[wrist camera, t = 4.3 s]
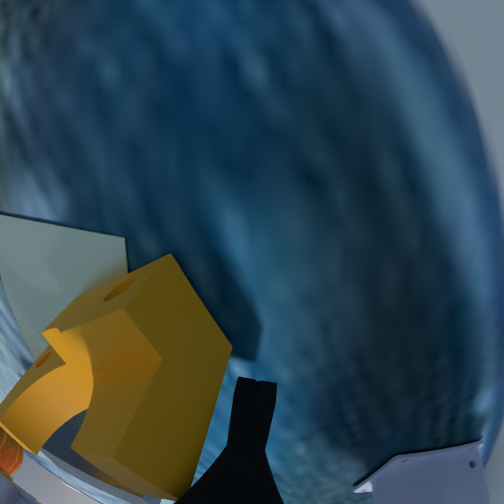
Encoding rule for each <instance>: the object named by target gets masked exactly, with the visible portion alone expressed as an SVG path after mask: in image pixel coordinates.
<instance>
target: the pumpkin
mask: <svg viewBox="0 0 504 504" xmlns="http://www.w3.org/2000/svg"><path fill="white" fill-rule="evenodd" d="M22 461H23V447H22V446H21V445H20V444H19V443H18V442H17V441H15V440H14V439H13V438H12V437H11V436H10V435H9V434H8V433H7V432H6V431H5V430H4V429H3V428H2V427H1V426H0V473H1V474H2V475H3V476H5V477H6V478H7V479H9V480H10V481H12V482H13V478H12V475H13V473H14V472H16V471H17V470H18V469H19V468H20V466H21V464H22Z"/></svg>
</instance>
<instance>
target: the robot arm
mask: <svg viewBox="0 0 504 504" xmlns="http://www.w3.org/2000/svg"><path fill="white" fill-rule="evenodd" d="M276 394H277V383H274V382H267V381H258V382H257V381H256V380H255V379H250V378H244V377H239V376H238V379H237V383H236V387H235V391H234V396H233V403H232V410H231V417H230V424H229V431H228V439H227V445H226V447H225V448H224V450H223V451H222V452H221V454H220V455H219V456H218V458H217V459H216V460H215V461H214V463H213V464H212V465H211V466H210V468H209V469H208V470H207V471H206V472H205V473H204V474H203V476H202V477H201V478H200V479H199V480H198V481H197V482H196V483H195V484H194V485H193V486H192V487H191V488H190V489H189V490H188V491H187V492H186V493H185V494H184V495H183V496H181V497H180V498H179V499H178V500H177V501H176V502H175V503H174V504H284V503H283V500H282V498H281V496H280V494H279V491H278V489H277V486H276V484H275V481H274V478H273V475H272V472H271V469H270V466H269V463H268V459H267V456H266V452H265V448H266V444H267V439H268V435H269V431H270V426H271V422H272V417H273V413H274V408H275V404H276ZM483 444H484V443H483V441H477V442H473V443H469V444H465V445H460V446H456V447H451V448H445V449H440V450H434V451H427V452H420V453H412V454H402V455H397V456H395V457H393V458H392V459H391V460H389V461H388V462H387V463H386V464H385V465H383V466H382V467H381V468H380V469H379V470H377V471H376V472H375V473H373V474H372V475H371V476H370V477H368V478H367V479H366V480H364V481H363V482H362V483H360V484H359V485H358V486H356V487H355V488H354V492H370V491H372V504H490V498H489V492H488V487H487V483H486V479H485V474H484V470H483V466H482V462H481V458H480V455H479V451H478V449H479V448H480V447H482V446H483ZM0 504H41V503H39V502H38V501H37V500H36V499H35V498H34V497H33V496H31V495H30V494H29V493H27V492H26V491H25V490H23V489H22V488H21V487H19V486H18V485H17V484H15V483H14V482H12V481H10V480H9V479H7V478H6V477H5V476H3V475H2V474H1V473H0Z"/></svg>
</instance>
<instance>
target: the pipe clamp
mask: <svg viewBox="0 0 504 504" xmlns="http://www.w3.org/2000/svg"><path fill="white" fill-rule="evenodd" d="M42 334H43V336H44V337H45V338H46V340H47V341H48V342H49V343H50V345H51V346H48V347H47V348H46V349H45V350H44V351H43V353H42V354H41V355H40V356H39V357H38V358H37V360H36V361H35V362H34V363H33V364H32V365H31V367H30V368H29V369H28V370H27V371H26V373H25V374H24V375H23V376H22V377H21V379H20V380H19V381H18V382H17V384H16V385H15V386H14V387H13V389H12V390H11V391H10V392H9V394H8V395H7V396H6V398H5V399H4V400H3V402H2V403H1V404H0V426H1V427H2V428H3V429H4V430H5V431H6V432H7V433H8V434H9V435H10V436H11V437H12V438H13V439H14V440H15V441H17V442H18V443H19V444H20V445H21V446H22V447H23V448H24V449H26V450H28V451H30V452H32V453H34V454H35V455H37V454H38V452H39V450H40V449H41V448H42V446H43V445H44V443H45V442H46V441H47V440H48V438H49V437H50V436H51V435H52V434H53V433H54V432H55V431H56V430H57V429H58V428H59V427H60V426H61V425H63V424H64V423H65V422H66V421H68V420H69V419H70V418H72V417H73V416H75V415H76V414H78V413H80V412H82V411H84V410H86V409H88V410H87V413H86V416H85V418H84V421H83V423H82V425H81V427H80V430H79V432H78V434H77V436H76V438H75V440H74V441H73V443H72V445H71V447H70V448H72V449H73V450H74V451H75V452H77V453H78V454H79V455H80V456H82V457H83V458H84V459H86V460H87V461H88V462H90V463H91V464H93V465H94V466H95V467H97V468H98V469H100V470H101V471H103V472H104V473H106V474H107V475H109V476H110V477H112V478H113V479H115V480H116V481H118V482H119V483H121V484H123V485H124V486H126V487H128V488H129V489H131V490H133V491H134V492H136V493H140V494H144V495H148V496H153V497H157V498H162V499H167V500H173V501H177V500H178V499H179V498H180V497H181V496H183V495H184V494H185V493H186V492H187V491H188V490H189V489H190V488H191V484H192V481H193V478H194V475H195V471H196V468H197V465H198V461H199V458H200V455H201V452H202V448H203V445H204V442H205V438H206V435H207V432H208V428H209V425H210V422H211V418H212V415H213V411H214V408H215V405H216V401H217V398H218V395H219V391H220V388H221V384H222V381H223V378H224V374H225V371H226V367H227V364H228V361H229V357H230V354H231V350H232V345H231V344H230V342H229V341H228V340H227V338H226V337H225V335H224V334H223V332H222V331H221V329H220V328H219V327H218V325H217V324H216V322H215V321H214V319H213V318H212V316H211V315H210V313H209V312H208V310H207V309H206V307H205V306H204V304H203V303H202V301H201V300H200V298H199V297H198V295H197V294H196V292H195V290H194V289H193V287H192V286H191V284H190V283H189V281H188V280H187V278H186V276H185V275H184V273H183V272H182V270H181V268H180V267H179V265H178V264H177V262H176V260H175V259H174V257H173V255H172V254H171V253H170V254H168V255H166V256H163V257H161V258H159V259H157V260H155V261H153V262H151V263H149V264H147V265H145V266H143V267H141V268H139V269H137V270H134V271H132V272H130V273H128V274H126V275H124V276H122V277H120V278H118V279H116V280H114V281H112V282H110V283H108V284H106V285H104V286H102V287H100V288H98V289H96V290H94V291H92V292H90V293H88V294H87V295H85V296H83V297H81V298H79V299H77V300H75V301H73V302H71V303H70V304H69V305H68V306H67V307H66V308H65V309H64V310H63V311H62V312H61V313H60V314H59V315H58V316H57V317H56V318H55V319H54V320H53V321H52V322H51V323H50V324H49V325H48V326H47V327H46V328H45V329H44V330H43V332H42Z"/></svg>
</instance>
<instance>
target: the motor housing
mask: <svg viewBox="0 0 504 504" xmlns="http://www.w3.org/2000/svg"><path fill="white" fill-rule="evenodd" d="M128 273H129V268H128V257H127V245H126V237H123V236H117V235H112V234H106V233H101V232H95V231H90V230H84V229H79V228H73V227H68V226H63V225H57V224H52V223H46V222H41V221H36V220H30V219H25V218H20V217H14V216H9V215H4V214H0V275H1V279H2V282H3V285H4V288H5V291H6V294H7V297H8V300H9V302H10V305H11V308H12V310H13V313H14V315H15V318H16V320H17V323H18V325H19V328H20V330H21V332H22V335H23V337H24V339H25V341H26V343H27V346H28V348H29V350H30V352H31V354H32V356H33V358H34V360H35V361H36V360H37V358H38V357H39V356H40V355H41V354H42V353H43V351H44V350H45V349H46V348H47V347H48V346H51V345H50V343H49V342H48V341H47V340H46V338H45V337H44V336H43V334H42V332H43V330H44V329H45V328H46V327H47V326H48V325H49V324H50V323H51V322H52V321H53V320H54V319H55V318H56V317H57V316H58V315H59V314H60V313H61V312H62V311H63V310H64V309H65V308H66V307H67V306H68V305H69V304H70V303H71V302H73V301H75V300H77V299H79V298H81V297H83V296H85V295H87V294H88V293H90V292H92V291H94V290H96V289H98V288H100V287H102V286H104V285H106V284H108V283H110V282H112V281H114V280H116V279H118V278H120V277H122V276H124V275H126V274H128ZM87 410H88V409H86V410H84V411H82V412H80V413H78V414H76V415H75V416H73V417H72V418H70V419H69V420H68V421H66V422H65V423H64V424H63V425H61V426H60V427H59V428H58V429H57V430H56V431H55V432H54V433H53V434H52V435H51V436H50V437H49V438H48V440H47V441H46V442H45V443H44V445H43V446H42V448H41V449H40V451H41V452H43V453H44V454H45V455H46V456H47V457H48V458H49V459H50V460H51V461H52V462H53V463H54V464H55V465H56V466H58V467H59V468H61V469H62V470H64V471H66V472H67V473H69V474H71V475H73V476H74V477H76V478H78V479H80V480H82V481H84V482H86V483H88V484H90V485H92V486H94V487H96V488H98V489H100V490H102V491H104V492H106V493H108V494H110V495H113V496H115V497H117V498H120V499H122V500H124V501H127V502H129V503H132V504H160V502H161V499H162V498H157V497H153V496H148V495H144V494H140V493H136V492H134V491H133V490H131V489H129V488H128V487H126V486H124V485H123V484H121V483H119V482H118V481H116V480H115V479H113V478H112V477H110V476H109V475H107V474H106V473H104V472H103V471H101V470H100V469H98V468H97V467H95V466H94V465H93V464H91V463H90V462H88V461H87V460H86V459H84V458H83V457H82V456H80V455H79V454H78V453H77V452H75V451H74V450H73V449H72V448H70V447H71V445H72V443H73V441H74V440H75V438H76V436H77V434H78V432H79V430H80V427H81V425H82V423H83V421H84V418H85V416H86V413H87Z"/></svg>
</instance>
